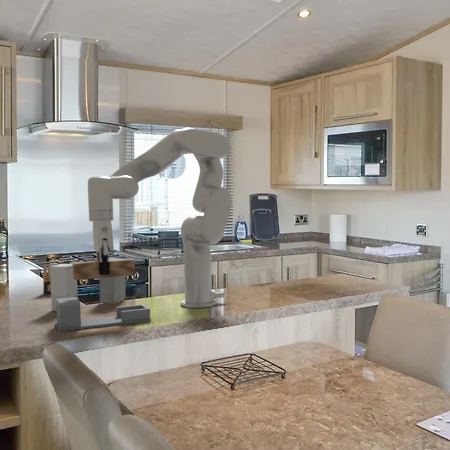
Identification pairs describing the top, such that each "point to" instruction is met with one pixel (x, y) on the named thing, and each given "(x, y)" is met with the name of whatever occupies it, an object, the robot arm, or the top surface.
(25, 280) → the top surface
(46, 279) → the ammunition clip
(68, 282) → the skincare box
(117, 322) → the endcap board
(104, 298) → the skincare box
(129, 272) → the slat
